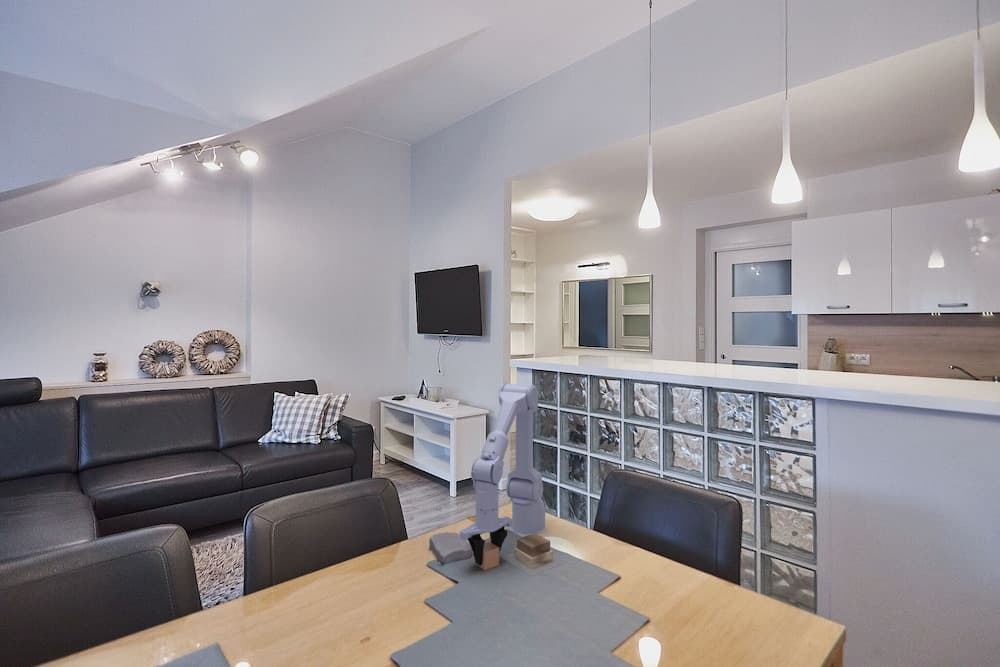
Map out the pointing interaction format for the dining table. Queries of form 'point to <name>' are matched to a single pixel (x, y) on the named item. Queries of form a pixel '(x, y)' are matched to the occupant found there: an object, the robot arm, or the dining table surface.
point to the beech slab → (533, 558)
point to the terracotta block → (490, 556)
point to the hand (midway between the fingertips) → (486, 560)
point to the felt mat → (535, 570)
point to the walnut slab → (533, 545)
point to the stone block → (449, 547)
